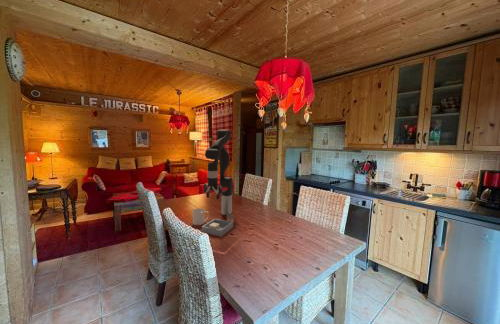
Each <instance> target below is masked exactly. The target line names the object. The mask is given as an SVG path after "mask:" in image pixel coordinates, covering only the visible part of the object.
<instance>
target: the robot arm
mask: <svg viewBox="0 0 500 324" xmlns="http://www.w3.org/2000/svg"><path fill="white" fill-rule="evenodd" d="M231 137H232V134H231V131H230V130H229V129H218V130H217V131H216V139H217V140H216V141H214V143H212V145H211V146H210V147H208V148H207V149H206V150H205V152H204V156H205V158H206V159H208V160H213V161H211V162H208V163H207V175H206V176H207V183H204V184H203V192H205V194H206V195H205V196H206V198H207V199H209V198H210V191H212V192H215V194H216V200H219V199H221V212H220V213H221V215H223V216H227V215H228V214H232V213H233V212H232V211H233V183H234V182H233V181H234V180H233V178H232V177H230V176H225V175H226V174H225V173H226V171H227V169H228V168H229V165H230V163H231V160H230V159H231V158H230V154H229V152H228V150H227V149H226V148H225V145H226V144H227V143H228V142H229V141H230V140H231ZM218 164H219V165H218ZM218 166H219V172H218ZM223 188H227V189H225V190H223ZM220 195H221V197H220Z"/></svg>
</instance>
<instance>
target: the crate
mask: <svg viewBox="0 0 500 324" xmlns="http://www.w3.org/2000/svg"><path fill="white" fill-rule="evenodd" d="M212 223H218V224H220V225H219V230H218V229H214V228H209V225H210V224H212ZM233 228H234V224H233V222H230V221H227V220H225V219H219V218H214V219H212V220H211V221H209V222H207V223H204V224H202V226H201V233H203V232H204V234H209V235H212V236H213V235H214V236H216V237H222V236H224V235H225V234H227V233H228V232H230V230H232V229H233Z"/></svg>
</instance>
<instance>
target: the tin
mask: <svg viewBox="0 0 500 324" xmlns="http://www.w3.org/2000/svg"><path fill="white" fill-rule="evenodd" d="M234 219H235V215H234V214H232V213H231V214H228V215H226V221H230V222H233V225H234V224H235V223H234Z"/></svg>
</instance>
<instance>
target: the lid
mask: <svg viewBox="0 0 500 324" xmlns="http://www.w3.org/2000/svg"><path fill="white" fill-rule="evenodd" d="M218 225H220V224H218V223H212V224H210V225H209V226H212V227H217V226H218Z"/></svg>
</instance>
